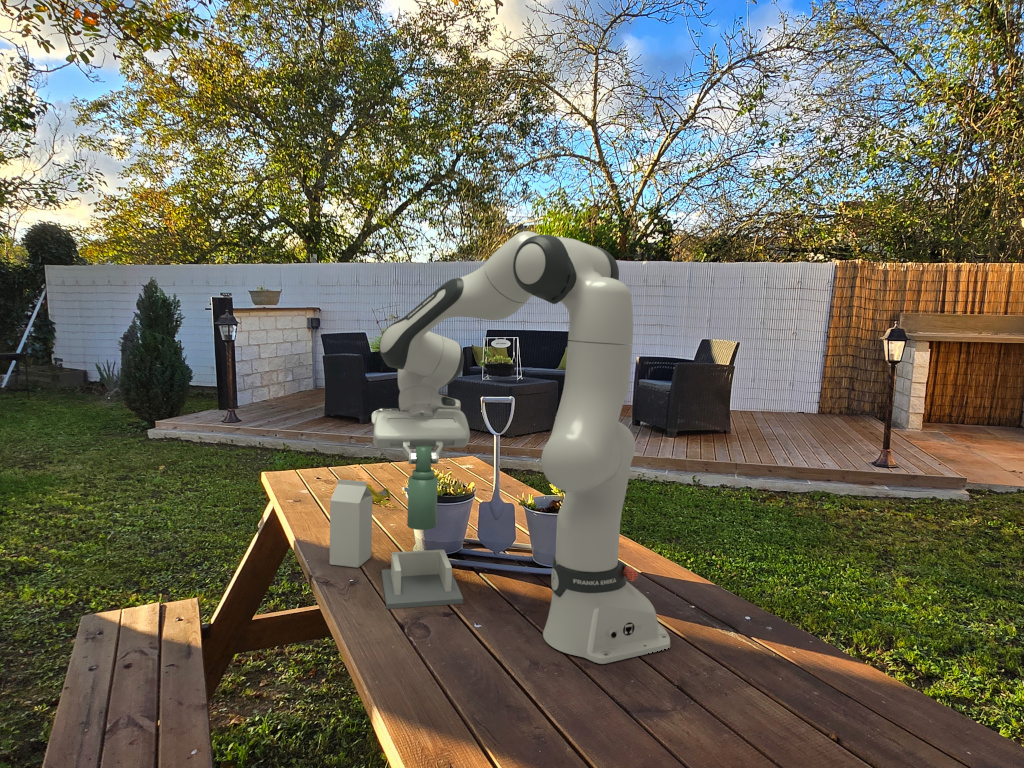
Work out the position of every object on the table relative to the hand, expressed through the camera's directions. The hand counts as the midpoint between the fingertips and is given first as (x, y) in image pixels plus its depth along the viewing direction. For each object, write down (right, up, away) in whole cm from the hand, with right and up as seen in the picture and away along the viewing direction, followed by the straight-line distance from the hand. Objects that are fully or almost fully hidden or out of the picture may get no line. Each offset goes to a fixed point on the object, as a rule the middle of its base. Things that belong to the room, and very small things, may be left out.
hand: (423, 462), depth 131 cm
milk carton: (-19, -25, +17) cm, 36 cm away
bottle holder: (-1, -27, +3) cm, 27 cm away
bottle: (-1, -13, +2) cm, 13 cm away
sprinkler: (-25, -21, +66) cm, 73 cm away
